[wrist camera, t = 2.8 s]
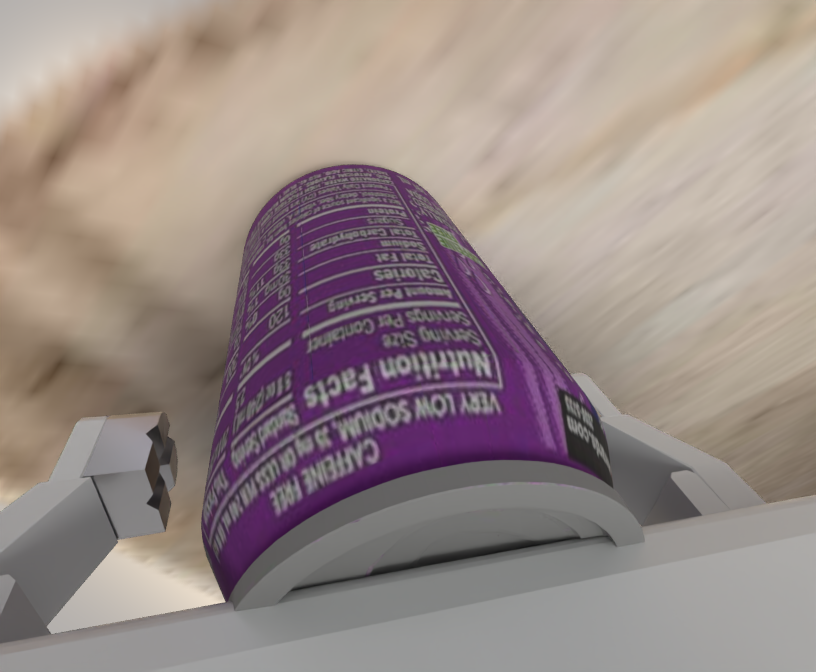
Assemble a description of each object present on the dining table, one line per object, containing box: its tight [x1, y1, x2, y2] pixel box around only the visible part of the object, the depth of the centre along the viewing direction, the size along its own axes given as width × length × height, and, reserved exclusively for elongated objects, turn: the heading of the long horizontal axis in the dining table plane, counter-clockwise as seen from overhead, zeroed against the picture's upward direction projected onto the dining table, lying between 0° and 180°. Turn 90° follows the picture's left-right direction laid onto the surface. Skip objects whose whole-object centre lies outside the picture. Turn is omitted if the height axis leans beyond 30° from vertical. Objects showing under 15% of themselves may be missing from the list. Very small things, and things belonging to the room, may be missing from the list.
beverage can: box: [201, 165, 645, 611], centre depth 12 cm, size 7×7×12 cm
